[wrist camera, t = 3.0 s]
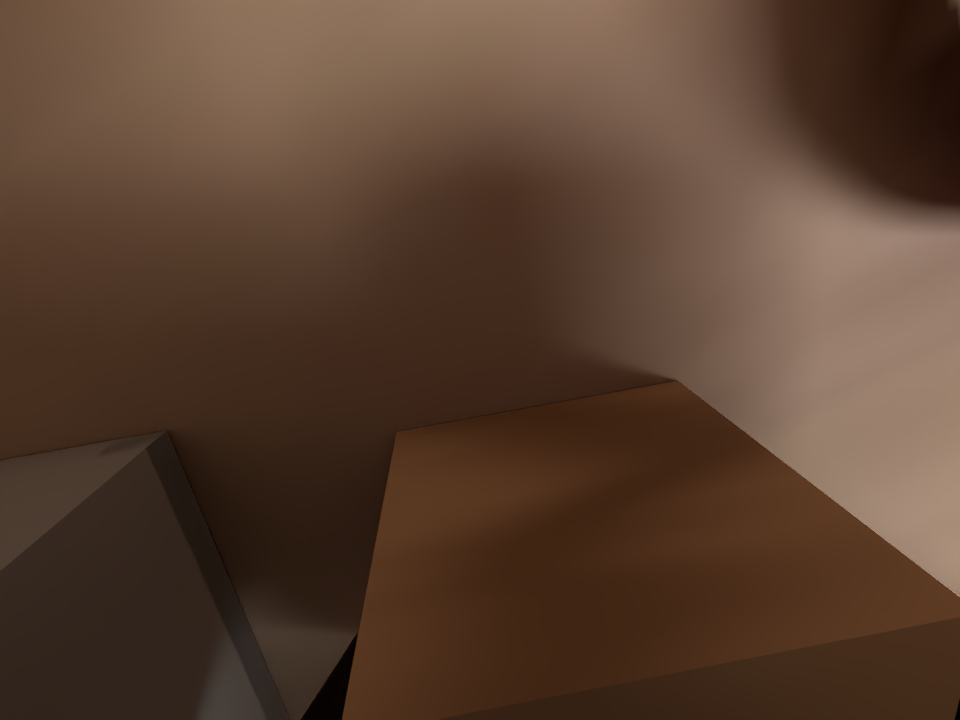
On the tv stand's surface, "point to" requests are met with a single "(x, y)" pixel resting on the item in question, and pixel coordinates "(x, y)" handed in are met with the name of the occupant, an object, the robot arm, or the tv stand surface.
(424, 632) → the walnut cube
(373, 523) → the tv stand surface
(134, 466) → the tote
